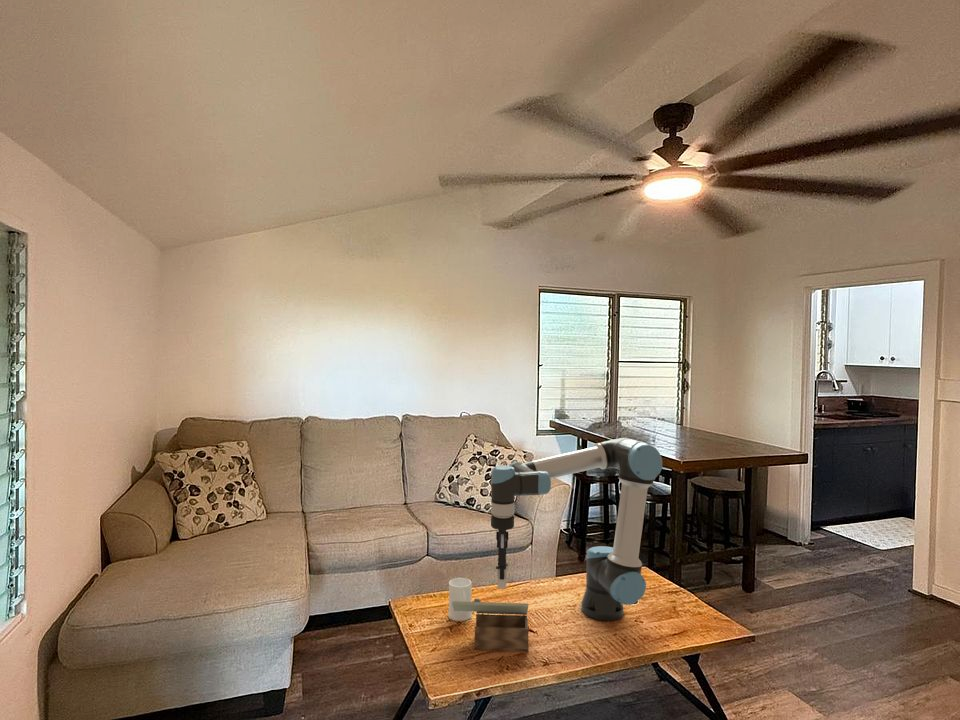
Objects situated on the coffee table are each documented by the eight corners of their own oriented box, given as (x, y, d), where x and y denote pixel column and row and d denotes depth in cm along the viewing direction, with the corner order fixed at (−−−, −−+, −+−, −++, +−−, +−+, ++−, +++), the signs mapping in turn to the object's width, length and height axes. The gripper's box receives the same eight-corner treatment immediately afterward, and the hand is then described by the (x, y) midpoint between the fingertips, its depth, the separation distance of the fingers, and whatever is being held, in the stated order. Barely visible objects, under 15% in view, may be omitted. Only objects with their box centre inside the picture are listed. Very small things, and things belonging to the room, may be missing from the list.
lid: (527, 615, 177) (526, 607, 179) (528, 607, 169) (528, 599, 171) (454, 612, 178) (454, 604, 180) (452, 605, 170) (452, 597, 172)
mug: (475, 624, 184) (475, 590, 184) (450, 626, 182) (451, 592, 182) (469, 608, 196) (470, 576, 195) (446, 610, 194) (447, 578, 194)
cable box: (527, 636, 176) (527, 615, 176) (528, 651, 168) (528, 629, 167) (476, 634, 177) (476, 614, 177) (474, 649, 168) (474, 627, 168)
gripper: (491, 508, 178) (490, 578, 178) (490, 520, 165) (489, 596, 165) (513, 509, 177) (512, 579, 177) (514, 521, 164) (513, 597, 164)
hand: (501, 587), depth 171 cm, fingers closed
